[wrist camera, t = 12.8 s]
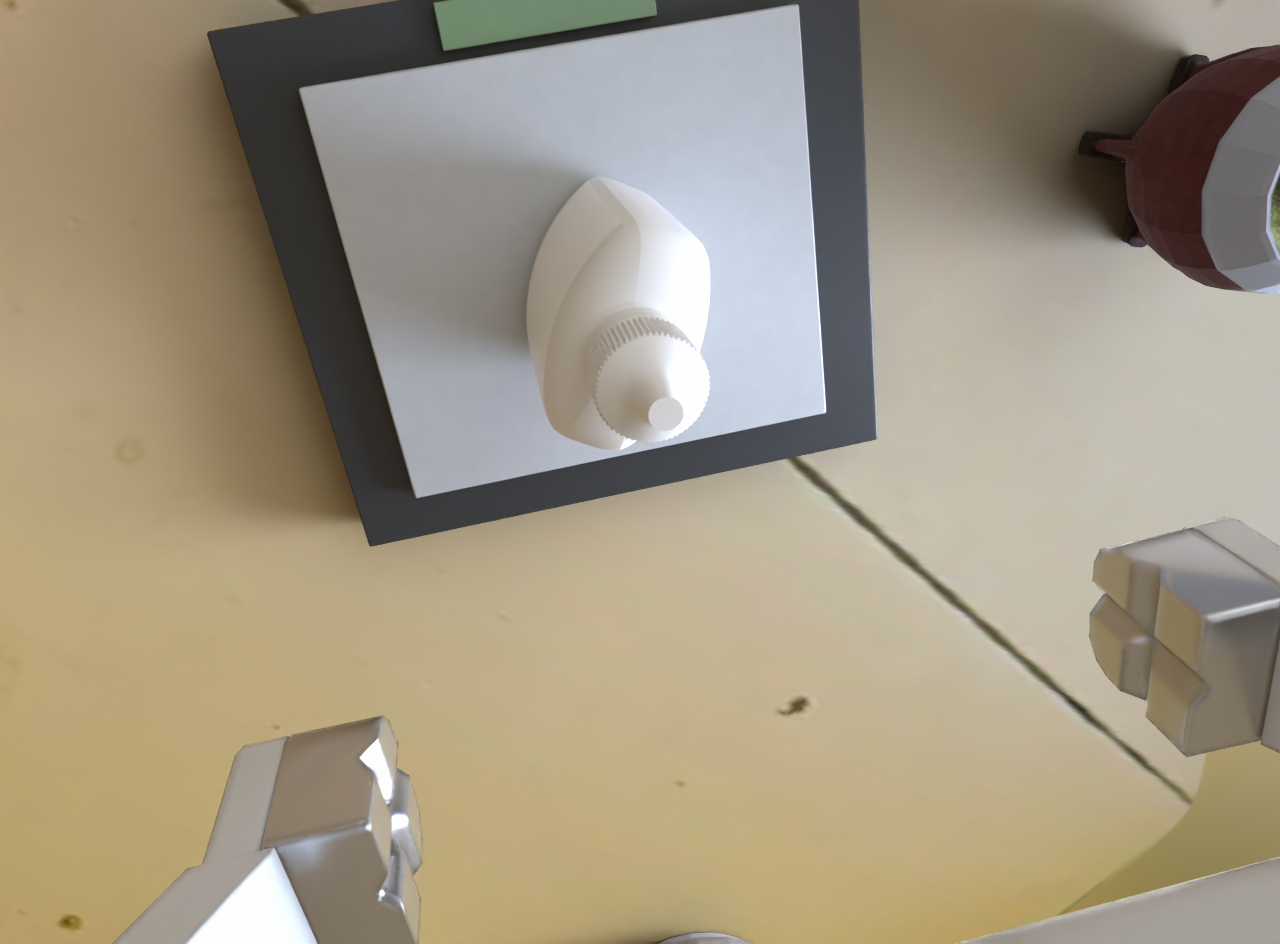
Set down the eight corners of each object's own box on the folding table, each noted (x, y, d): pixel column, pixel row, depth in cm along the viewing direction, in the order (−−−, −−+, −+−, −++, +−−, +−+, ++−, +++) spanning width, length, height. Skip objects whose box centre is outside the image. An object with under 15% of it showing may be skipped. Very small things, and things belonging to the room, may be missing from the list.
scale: (222, 31, 27) (200, 32, 25) (831, -68, 29) (864, -77, 26) (374, 520, 34) (368, 556, 32) (857, 419, 36) (885, 446, 33)
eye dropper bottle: (470, 276, 29) (477, 427, 18) (616, 151, 28) (714, 229, 17) (565, 380, 30) (623, 574, 20) (704, 265, 30) (843, 401, 19)
